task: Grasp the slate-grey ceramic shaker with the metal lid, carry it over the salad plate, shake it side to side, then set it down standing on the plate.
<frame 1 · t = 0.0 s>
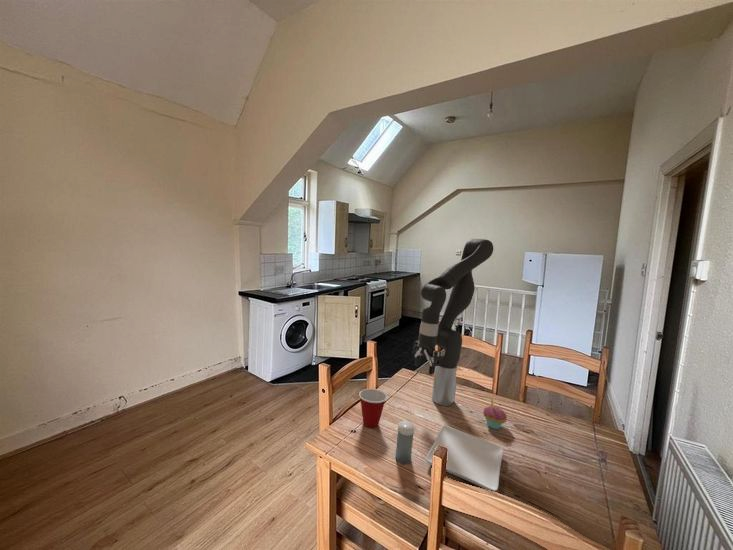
hand: (423, 369, 123), 17 cm above the table, tool pointing down, fingers open, 8 cm apart
cupcake: (493, 425, 117), on the table
shaker: (403, 458, 96), on the table
salad plate: (464, 462, 97), on the table
plastic cup: (370, 423, 113), on the table
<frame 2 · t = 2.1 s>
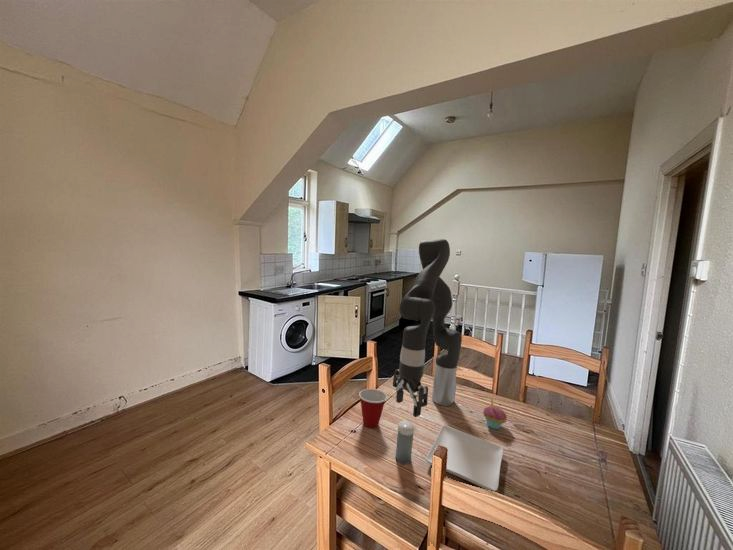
hand: (407, 408, 94), 17 cm above the table, tool pointing down, fingers open, 8 cm apart
nothing on the table moved.
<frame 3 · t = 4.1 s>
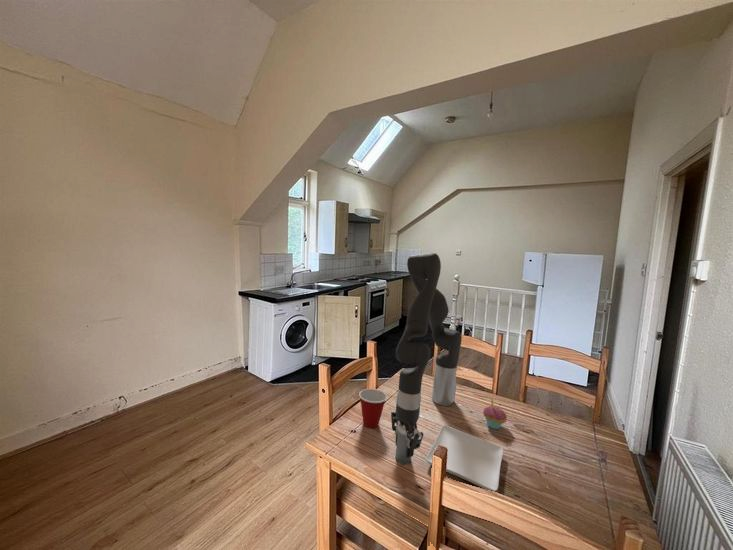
hand: (403, 450, 96), 3 cm above the table, tool pointing down, fingers closed on shaker, 5 cm apart
shaker: (403, 458, 96), on the table, touching gripper
everything else where it was.
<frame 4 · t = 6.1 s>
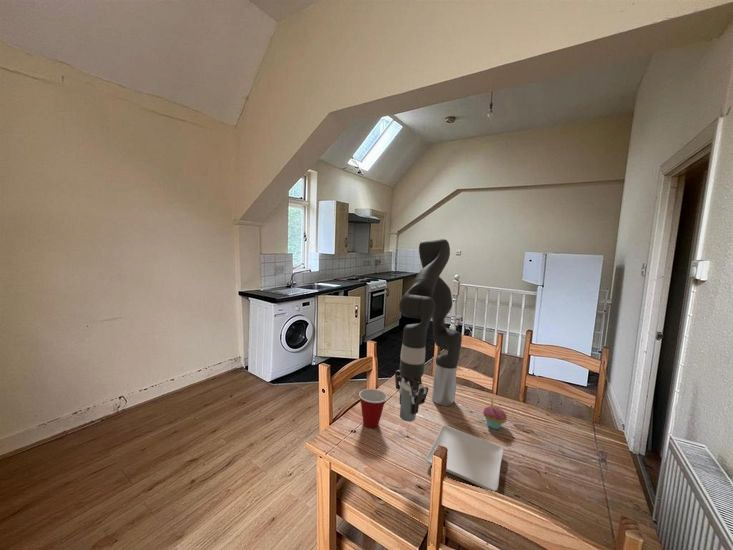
hand: (408, 408, 94), 17 cm above the table, tool pointing down, fingers closed on shaker, 5 cm apart
shaker: (407, 416, 94), point 15 cm above the table, touching gripper
everything else where it was.
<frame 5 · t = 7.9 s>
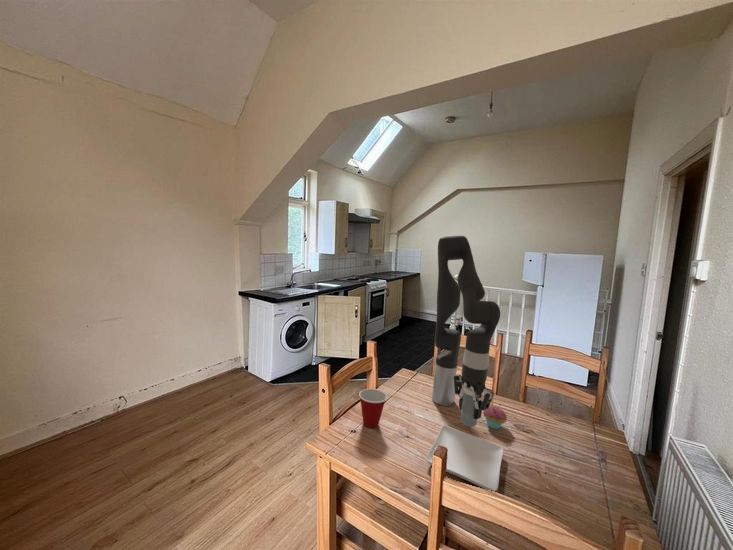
hand: (469, 413, 94), 17 cm above the table, tool pointing down, fingers closed on shaker, 5 cm apart
shaker: (468, 421, 95), point 14 cm above the table, touching gripper
everything else where it was.
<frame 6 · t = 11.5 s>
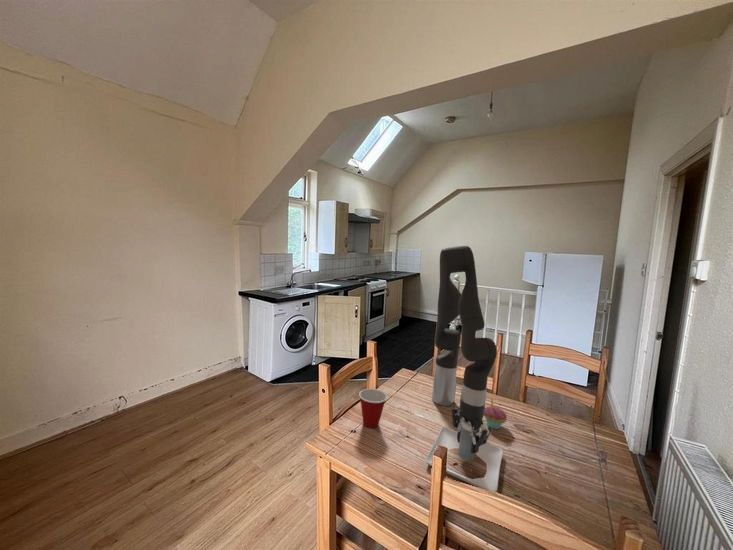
hand: (467, 447, 96), 5 cm above the table, tool pointing down, fingers closed on shaker, 5 cm apart
shaker: (466, 454, 96), point 2 cm above the table, touching gripper
everything else where it was.
when the fingers open (5 cm above the table, at t = 11.6 s): shaker stays where it is, resting on salad plate.
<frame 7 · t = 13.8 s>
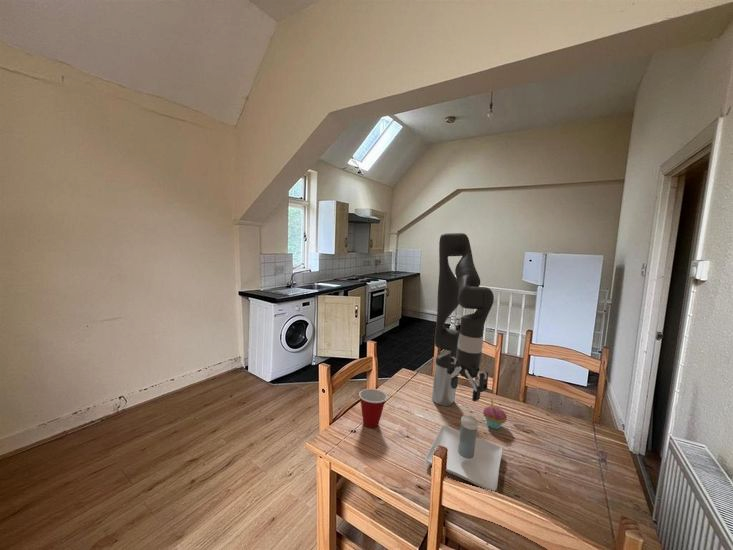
hand: (464, 394, 97), 22 cm above the table, tool pointing down, fingers open, 8 cm apart
shaker: (465, 452, 96), point 3 cm above the table, touching salad plate
salad plate: (464, 462, 97), on the table, touching shaker
everything else where it was.
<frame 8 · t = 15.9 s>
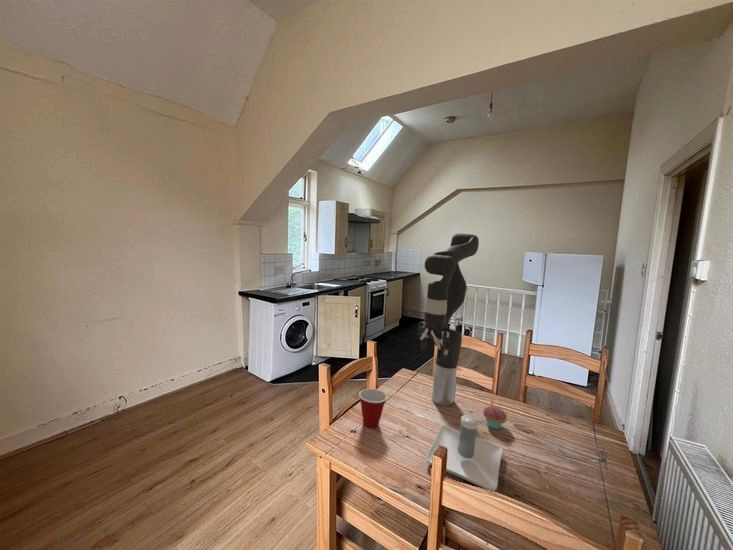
hand: (431, 354, 107), 30 cm above the table, tool pointing down, fingers open, 8 cm apart
nothing on the table moved.
at the end: shaker 0.2 cm from the salad plate (horizontally); shaker tilted 0°; shaker touching salad plate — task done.
